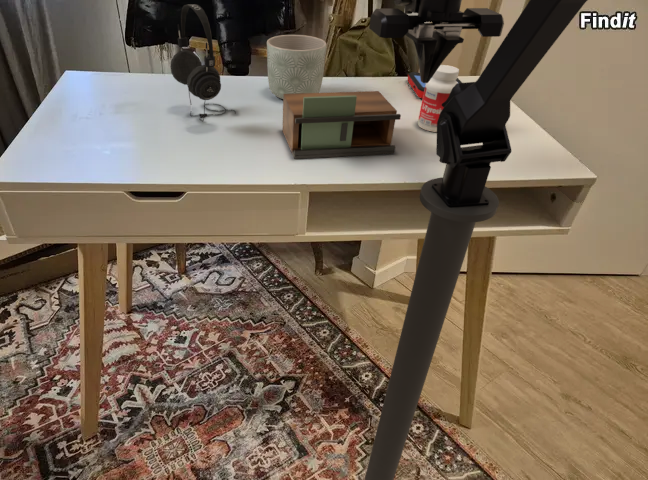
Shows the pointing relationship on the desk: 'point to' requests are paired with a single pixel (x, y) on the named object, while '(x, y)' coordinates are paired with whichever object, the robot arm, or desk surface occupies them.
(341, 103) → the sliding door
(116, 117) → the desk surface
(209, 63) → the headphones
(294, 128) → the cabinet
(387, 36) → the robot arm
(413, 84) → the game console
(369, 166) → the desk surface
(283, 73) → the planter
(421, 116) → the pill bottle
